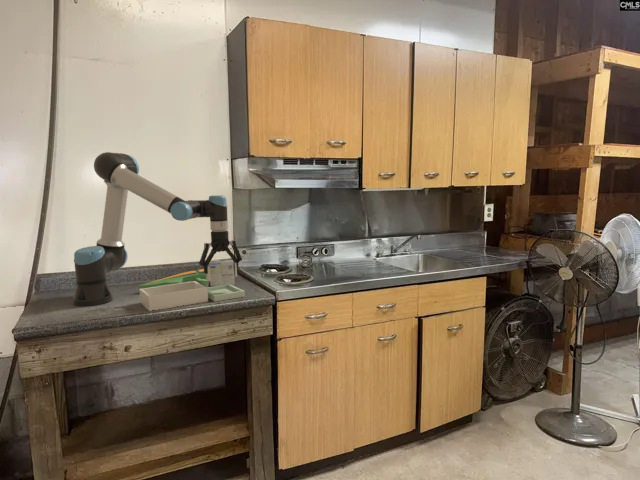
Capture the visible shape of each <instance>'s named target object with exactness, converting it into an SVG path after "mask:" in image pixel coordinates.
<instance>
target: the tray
mask: <svg viewBox="0 0 640 480" xmlns="http://www.w3.org/2000/svg"><path fill="white" fill-rule="evenodd" d="M206 287H207V286H206ZM207 289H208V300H211V301H213V302H221V301H227V300H231V299H233V300H234V299H238V298H244V297H246V291H245V290H244V289H241V288H239V287H237V286H234V284H233V285H220V286H214V287H209V286H208V287H207Z"/></svg>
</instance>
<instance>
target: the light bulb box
mask: <svg viewBox="0 0 640 480" xmlns="http://www.w3.org/2000/svg"><path fill="white" fill-rule="evenodd" d="M233 262H234V261H233V259H232V258H227V259H226V258H225V259H213V260H212V259H211V261H210V262H209V264H208V266H210V286H220V285H233V286H234V285H235V277H234V267H233Z"/></svg>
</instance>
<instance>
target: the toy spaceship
mask: <svg viewBox="0 0 640 480" xmlns="http://www.w3.org/2000/svg"><path fill="white" fill-rule="evenodd" d="M192 281H196V282H198V283H200V284H201V285H203V286H209V281H207V280H206V274H205V273H204V268H202V269H197V270H191V271H186V272H185V271H184V272H181V273H178V274H174V275H171V276H167V277H163V278H160V279H157V280H153V281H150V282H147V283H144V284H139V285H138V288H139V289H143V288H150V287H157V286H164V285H171V284H178V283H185V282H192ZM139 289H138V290H139Z"/></svg>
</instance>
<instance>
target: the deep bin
mask: <svg viewBox="0 0 640 480" xmlns="http://www.w3.org/2000/svg"><path fill="white" fill-rule="evenodd" d="M138 290H139V300H140V301H139V303H140V304H141V305H142V306H143V305H144V306H145V307H144V306H143V307H144V308H146V309H147V310H148V311H149V312H153V311H152V310H155V311H159V309H160V310H166V309H170V308H171V309H172V308H177V306H178V307H182V306H183V305H184V306H188V305H194V304H200V303H201V304H202V303H206V302H209V298H208V289H207V286H206V285H204V286H203V285H201V284H200V283H198V282H196V281H192V282H190V281H188V282H185V283H178V284H171V285H164V286H157V287H150V288H140V289H138Z"/></svg>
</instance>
